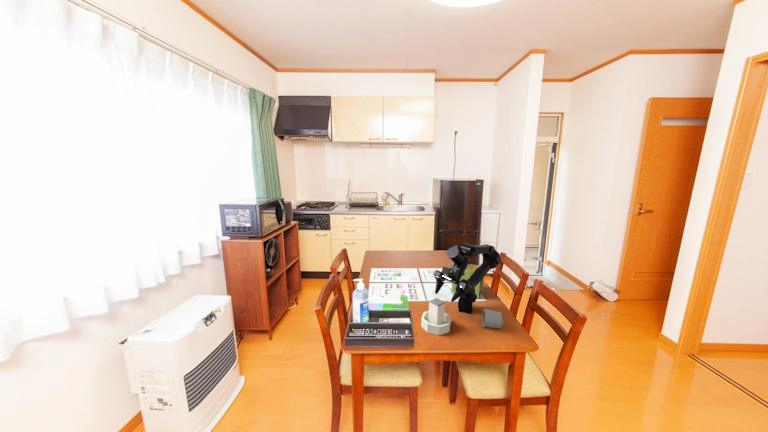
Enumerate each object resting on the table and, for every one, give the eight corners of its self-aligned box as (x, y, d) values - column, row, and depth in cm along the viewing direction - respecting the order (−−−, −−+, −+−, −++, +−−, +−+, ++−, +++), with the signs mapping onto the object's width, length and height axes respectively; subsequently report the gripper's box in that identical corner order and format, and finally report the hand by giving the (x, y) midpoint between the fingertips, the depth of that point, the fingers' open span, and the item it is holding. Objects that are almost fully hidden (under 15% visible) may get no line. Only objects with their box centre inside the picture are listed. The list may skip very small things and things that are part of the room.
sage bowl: (451, 320, 124) (451, 313, 123) (448, 337, 112) (449, 328, 111) (424, 315, 128) (425, 308, 127) (419, 330, 116) (419, 322, 115)
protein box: (478, 299, 144) (481, 272, 141) (451, 292, 152) (452, 266, 149) (483, 291, 153) (485, 266, 149) (456, 285, 160) (458, 261, 157)
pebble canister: (435, 319, 123) (436, 297, 121) (443, 324, 119) (445, 302, 117) (428, 323, 120) (429, 300, 118) (436, 328, 116) (437, 305, 114)
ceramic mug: (503, 332, 116) (505, 316, 114) (484, 330, 117) (485, 314, 116) (497, 318, 126) (499, 304, 125) (479, 317, 127) (481, 302, 126)
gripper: (435, 254, 126) (419, 282, 122) (469, 266, 112) (452, 299, 108) (446, 264, 133) (431, 292, 129) (479, 277, 119) (463, 308, 115)
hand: (443, 297), depth 120 cm, fingers open, 9 cm apart
